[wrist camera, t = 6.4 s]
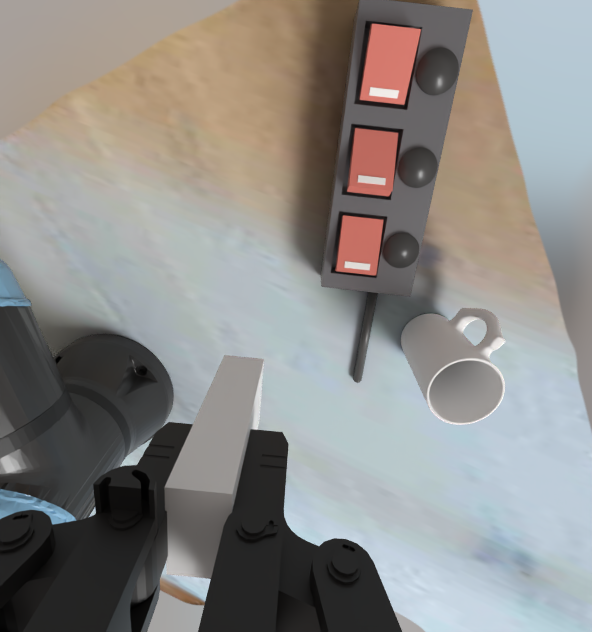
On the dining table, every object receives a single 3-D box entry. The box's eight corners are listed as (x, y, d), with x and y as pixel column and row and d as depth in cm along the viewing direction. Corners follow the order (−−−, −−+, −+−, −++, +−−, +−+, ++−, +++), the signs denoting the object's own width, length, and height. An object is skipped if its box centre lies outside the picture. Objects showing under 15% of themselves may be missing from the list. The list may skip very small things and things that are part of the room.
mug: (431, 373, 47) (469, 436, 36) (386, 346, 46) (410, 402, 35) (488, 306, 44) (549, 353, 33) (440, 275, 43) (487, 313, 32)
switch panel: (307, 374, 48) (307, 394, 43) (354, 17, 35) (360, -5, 31) (380, 382, 48) (387, 403, 43) (454, 28, 35) (474, 8, 31)
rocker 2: (347, 191, 35) (349, 185, 34) (352, 136, 36) (355, 127, 34) (388, 196, 35) (392, 190, 34) (394, 140, 36) (398, 132, 34)
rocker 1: (358, 98, 34) (359, 99, 33) (370, 24, 31) (372, 23, 30) (401, 102, 34) (404, 104, 33) (417, 30, 31) (421, 29, 30)
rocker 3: (335, 271, 38) (336, 270, 37) (341, 217, 38) (343, 215, 36) (373, 275, 38) (376, 275, 37) (380, 221, 38) (383, 219, 36)
